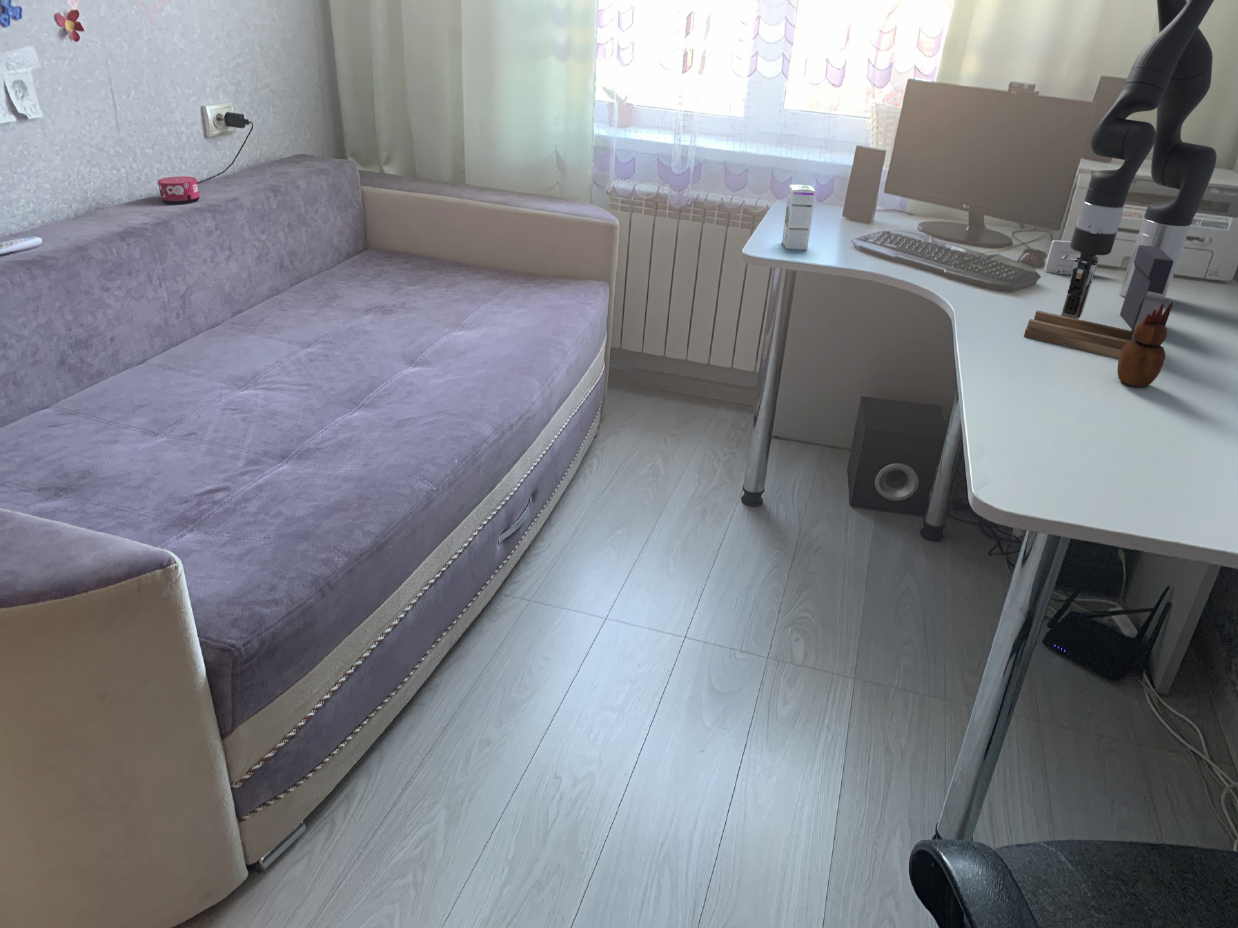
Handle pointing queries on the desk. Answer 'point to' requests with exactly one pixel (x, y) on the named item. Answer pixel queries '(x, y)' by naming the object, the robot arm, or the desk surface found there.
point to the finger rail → (1089, 329)
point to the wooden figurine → (1144, 350)
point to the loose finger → (1081, 303)
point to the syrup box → (798, 217)
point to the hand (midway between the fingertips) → (1071, 310)
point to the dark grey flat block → (1146, 279)
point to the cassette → (1061, 258)
